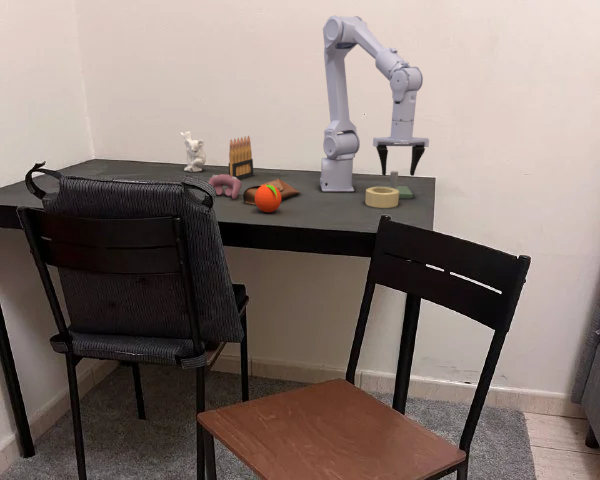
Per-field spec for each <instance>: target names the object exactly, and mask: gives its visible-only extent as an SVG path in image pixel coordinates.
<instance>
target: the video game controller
mask: <svg viewBox="0 0 600 480" xmlns="http://www.w3.org/2000/svg"><path fill="white" fill-rule="evenodd" d="M208 183H209V184H211V185H212V186H213V187H214V188H215V189H216V193H217V194H216V193H215V194H216V195H217V196H222V195H224V193H225V195H226V196H227V197H231V199H232V200H236V199H237V198H238V196H239V194H240V190H241V188H242V181H241V179H239V180H238V179H237V178H236V177H234V176H231V175H229V174H225V173H220V174H213V175H212V176H211V177H210V178H209V179H208V181H207V184H208ZM224 187H226V188H225V191H224Z"/></svg>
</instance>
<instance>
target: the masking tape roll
mask: <svg viewBox="0 0 600 480" xmlns="http://www.w3.org/2000/svg"><path fill="white" fill-rule="evenodd" d="M364 199H365V200H364V203H365V205H366V206H369V207H370V208H371V207H372V208H377V209H391V208H396V207H397V206H399V199H400V198H399V191H398V190H397V189H394V188H389V187H368V188H366V189H365V198H364Z"/></svg>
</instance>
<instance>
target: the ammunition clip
mask: <svg viewBox="0 0 600 480" xmlns="http://www.w3.org/2000/svg"><path fill="white" fill-rule="evenodd" d="M243 137H244V138H243ZM228 157H229V159H228V160H229V162H228V175H231V176H234V177H236V178H237V179H238V180H243V179H246V178H250V177H253V176H254V159H253V157H252V144H251V137H250V135H247V136H241V137H237V138H233V140H232V138H231V139H230V140H229V153H228Z"/></svg>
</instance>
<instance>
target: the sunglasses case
mask: <svg viewBox="0 0 600 480" xmlns="http://www.w3.org/2000/svg"><path fill="white" fill-rule="evenodd" d="M267 184H268V185H273V186H275V187H276V188H277V189H278V190H279V191H280V194H281V201H284V200H287V199H291V198H292V197H295V196H297V195H299V194H301V192H300V191H298V190H297V189H296V188H294V187H293V186H291V185H289V184H288V183H286V182H285V181H283V180H281V178H280V177H279V178H277V179H274V180H271V181H267V182H264V183H261V184H258V185H252V186H249V187H248V188H246V189H245V190H244V192H243V195H242V199H243V201H244V203H245V204H248V205H253V206H257V205H256V203H255V194H256V191H257V190H258V188H260V187H261V186H262V185H267Z"/></svg>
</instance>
